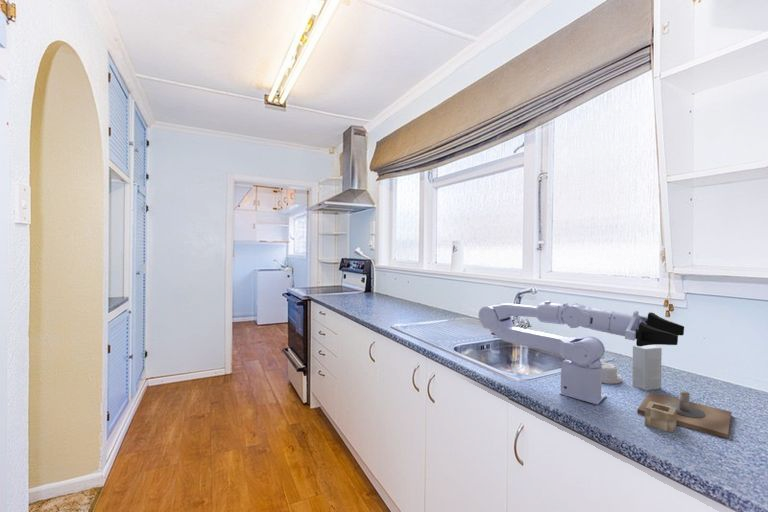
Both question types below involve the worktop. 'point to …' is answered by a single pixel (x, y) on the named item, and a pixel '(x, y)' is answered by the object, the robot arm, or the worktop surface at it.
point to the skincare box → (647, 367)
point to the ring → (660, 416)
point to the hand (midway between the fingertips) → (680, 335)
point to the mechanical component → (610, 374)
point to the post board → (693, 414)
